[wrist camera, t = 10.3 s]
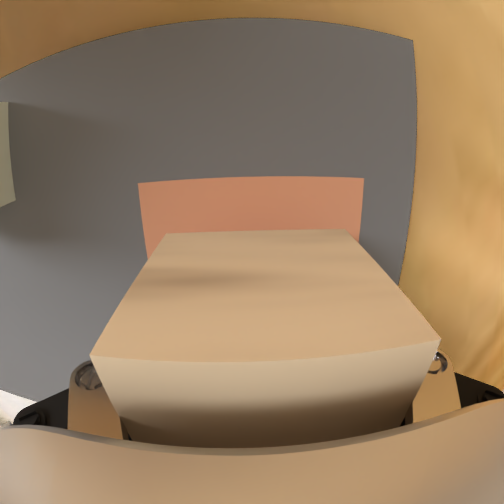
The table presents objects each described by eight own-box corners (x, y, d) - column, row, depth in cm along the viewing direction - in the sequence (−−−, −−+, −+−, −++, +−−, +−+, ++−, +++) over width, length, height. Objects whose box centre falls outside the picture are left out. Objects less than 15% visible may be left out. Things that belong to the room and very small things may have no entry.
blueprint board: (354, 405, 18) (358, 416, 17) (1, 381, 18) (-4, 388, 17) (402, 44, 10) (413, 40, 9) (-73, 131, 9) (-82, 133, 8)
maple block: (326, 361, 12) (363, 481, 7) (187, 366, 12) (166, 491, 6) (344, 228, 10) (441, 338, 4) (166, 233, 10) (88, 355, 4)
